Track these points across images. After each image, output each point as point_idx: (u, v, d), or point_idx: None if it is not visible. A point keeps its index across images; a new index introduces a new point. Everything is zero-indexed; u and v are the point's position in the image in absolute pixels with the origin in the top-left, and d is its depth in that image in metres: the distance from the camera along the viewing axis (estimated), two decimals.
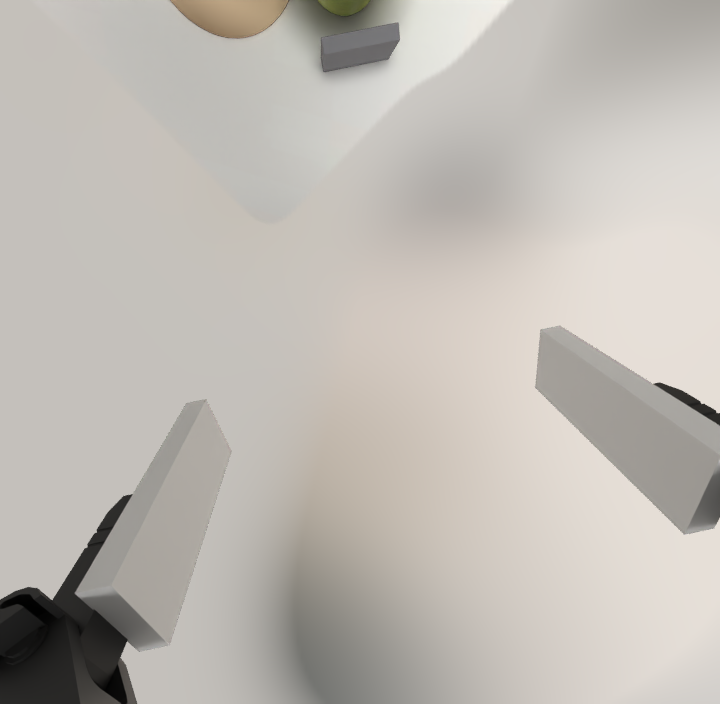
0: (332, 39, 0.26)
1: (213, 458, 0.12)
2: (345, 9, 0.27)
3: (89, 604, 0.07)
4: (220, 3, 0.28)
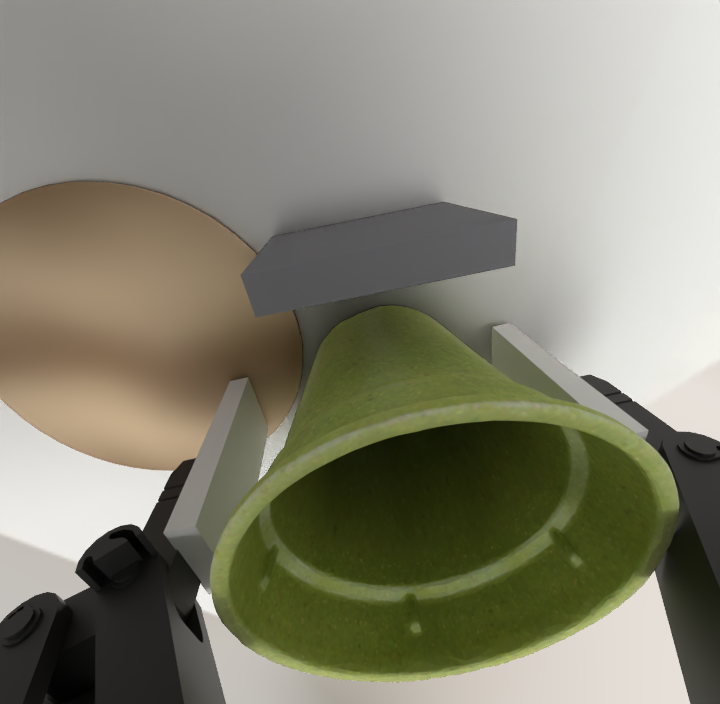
0: None
1: (256, 431, 0.13)
2: (391, 470, 0.14)
3: (173, 544, 0.08)
4: (154, 437, 0.15)
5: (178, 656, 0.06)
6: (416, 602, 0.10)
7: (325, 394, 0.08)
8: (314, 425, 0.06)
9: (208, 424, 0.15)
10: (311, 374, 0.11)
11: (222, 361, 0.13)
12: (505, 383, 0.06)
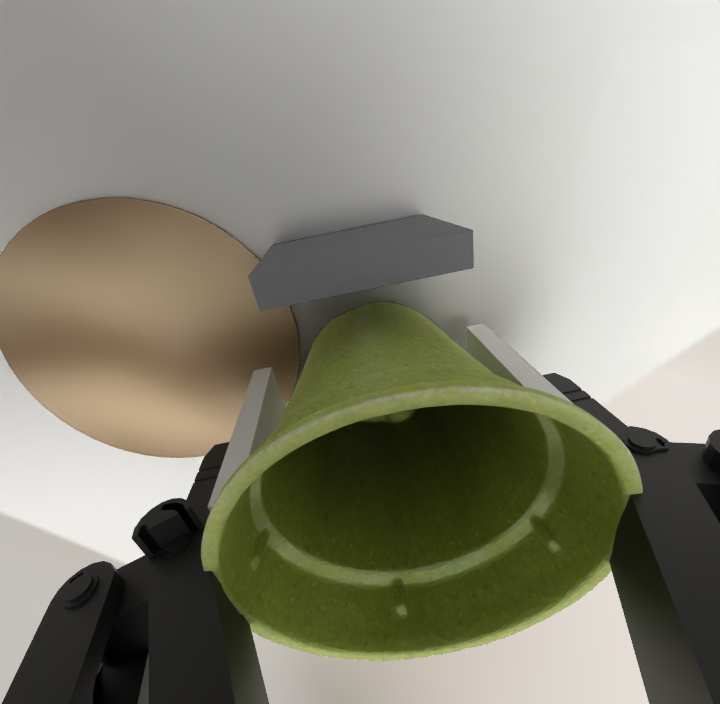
0: None
1: (280, 419, 0.14)
2: (383, 462, 0.14)
3: None
4: (165, 426, 0.16)
5: (223, 627, 0.06)
6: (402, 587, 0.11)
7: (313, 384, 0.08)
8: (299, 411, 0.07)
9: (213, 414, 0.16)
10: (304, 368, 0.12)
11: (227, 355, 0.15)
12: (478, 373, 0.07)
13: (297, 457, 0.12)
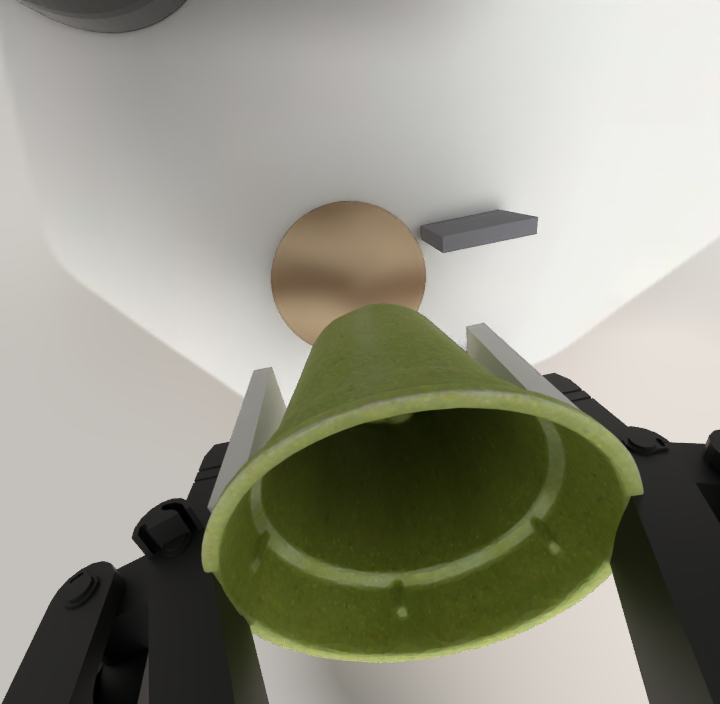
0: None
1: (280, 419, 0.14)
2: (383, 463, 0.14)
3: None
4: None
5: (223, 626, 0.06)
6: (403, 588, 0.11)
7: (313, 386, 0.08)
8: (299, 414, 0.07)
9: None
10: (304, 369, 0.12)
11: (386, 288, 0.27)
12: (479, 375, 0.07)
13: (297, 458, 0.12)
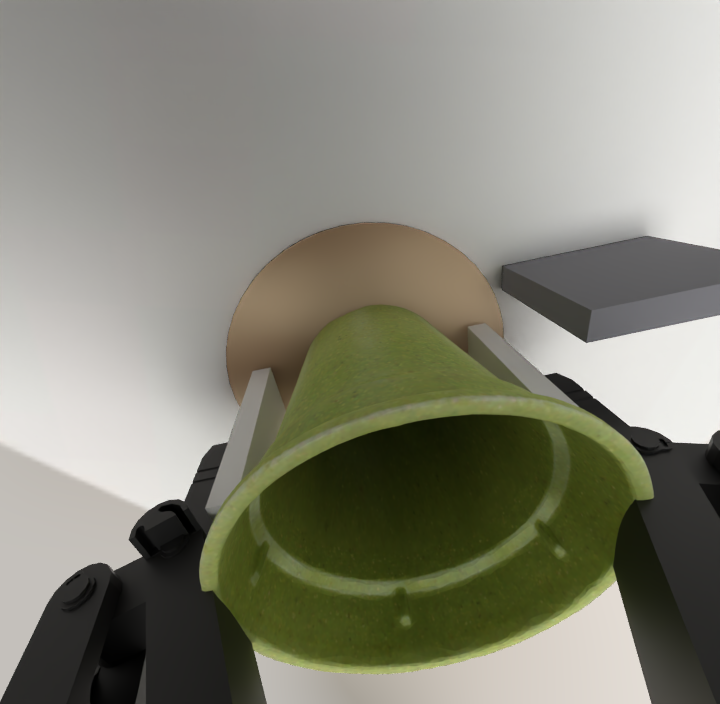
0: None
1: (278, 420, 0.14)
2: (382, 467, 0.14)
3: (213, 520, 0.08)
4: None
5: (221, 628, 0.06)
6: (406, 596, 0.10)
7: (313, 392, 0.08)
8: (300, 422, 0.07)
9: None
10: (301, 373, 0.11)
11: None
12: (486, 379, 0.07)
13: None
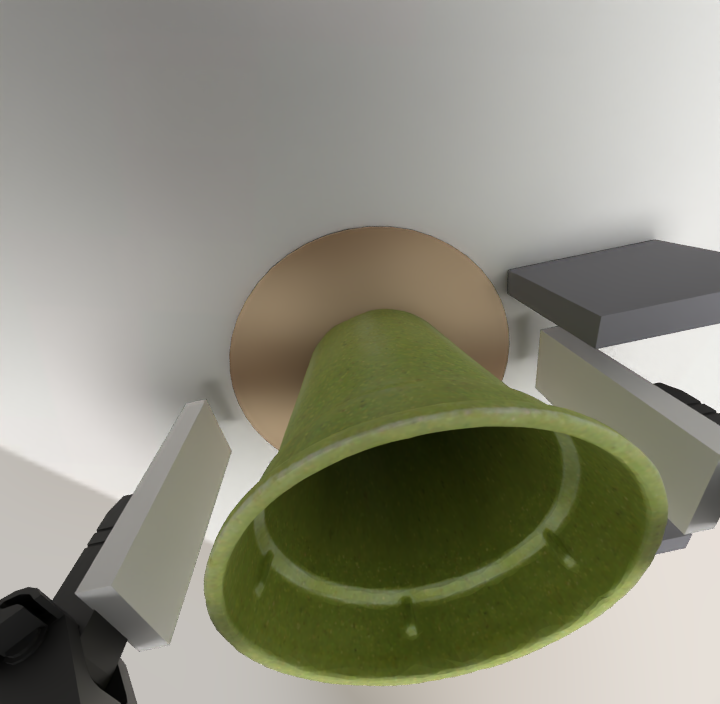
0: None
1: (213, 458, 0.12)
2: (386, 472, 0.14)
3: (89, 604, 0.07)
4: None
5: None
6: (411, 605, 0.10)
7: (319, 399, 0.08)
8: (307, 431, 0.06)
9: None
10: (305, 378, 0.11)
11: None
12: (496, 388, 0.07)
13: None
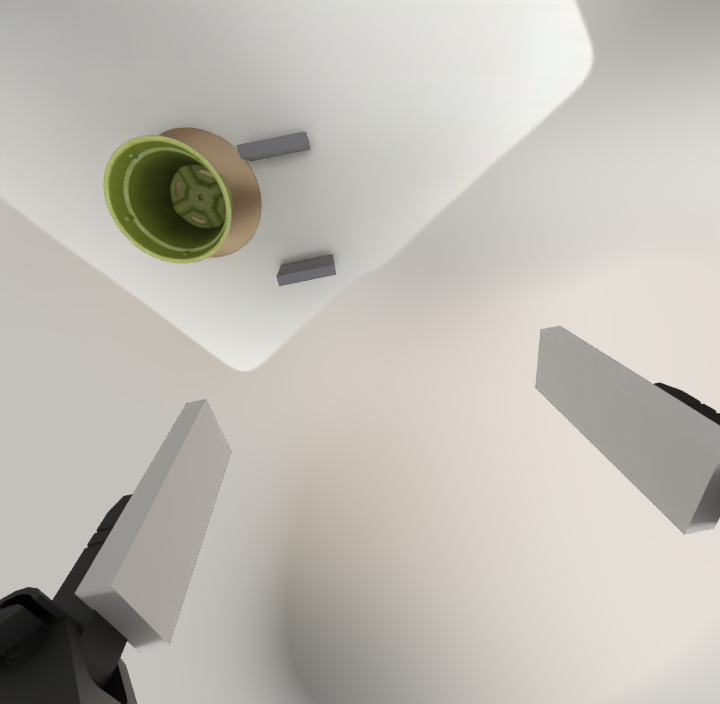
0: (284, 277, 0.34)
1: (213, 458, 0.12)
2: (202, 235, 0.34)
3: (89, 604, 0.07)
4: None
5: None
6: (188, 251, 0.30)
7: (144, 164, 0.28)
8: (130, 157, 0.26)
9: None
10: (156, 179, 0.31)
11: None
12: (177, 147, 0.26)
13: (154, 214, 0.31)
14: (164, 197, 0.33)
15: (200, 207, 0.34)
